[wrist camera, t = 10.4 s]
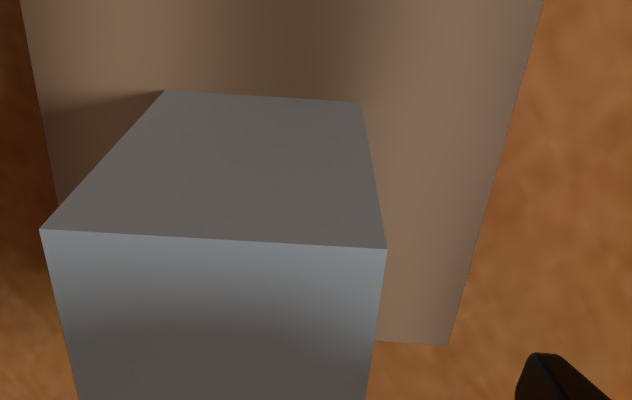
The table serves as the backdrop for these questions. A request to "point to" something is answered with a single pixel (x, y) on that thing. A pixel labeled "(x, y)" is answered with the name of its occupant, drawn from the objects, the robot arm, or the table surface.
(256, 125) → the grey block
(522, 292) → the table surface
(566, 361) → the robot arm
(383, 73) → the brown flat block
